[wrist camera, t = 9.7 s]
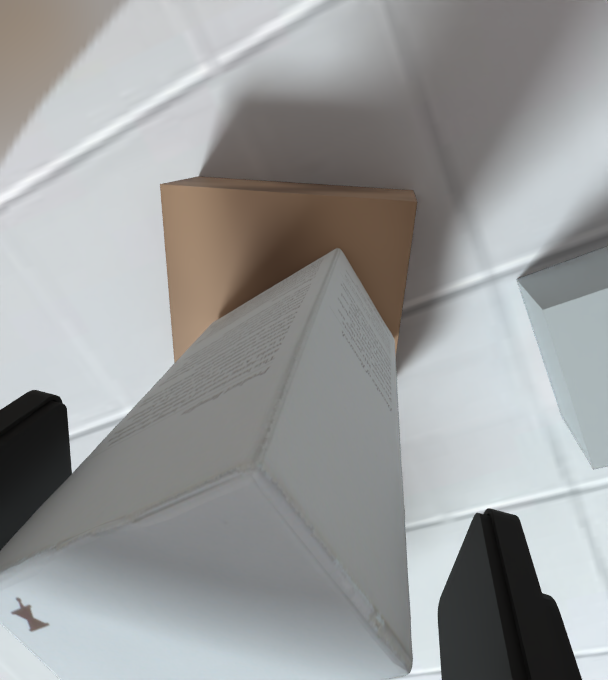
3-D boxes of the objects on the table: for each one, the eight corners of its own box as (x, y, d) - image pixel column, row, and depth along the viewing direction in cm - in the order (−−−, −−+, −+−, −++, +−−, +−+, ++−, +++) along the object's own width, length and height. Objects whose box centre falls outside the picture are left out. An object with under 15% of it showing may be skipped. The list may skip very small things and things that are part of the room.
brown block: (412, 189, 19) (417, 201, 15) (386, 382, 22) (385, 429, 19) (202, 175, 20) (160, 184, 16) (210, 360, 24) (177, 400, 20)
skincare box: (271, 403, 19) (118, 746, 8) (211, 320, 18) (-52, 590, 7) (402, 339, 17) (423, 688, 6) (343, 241, 16) (246, 456, 5)
